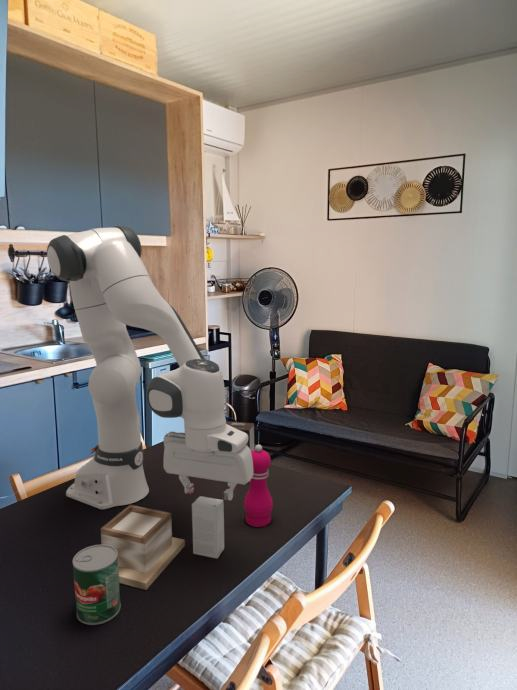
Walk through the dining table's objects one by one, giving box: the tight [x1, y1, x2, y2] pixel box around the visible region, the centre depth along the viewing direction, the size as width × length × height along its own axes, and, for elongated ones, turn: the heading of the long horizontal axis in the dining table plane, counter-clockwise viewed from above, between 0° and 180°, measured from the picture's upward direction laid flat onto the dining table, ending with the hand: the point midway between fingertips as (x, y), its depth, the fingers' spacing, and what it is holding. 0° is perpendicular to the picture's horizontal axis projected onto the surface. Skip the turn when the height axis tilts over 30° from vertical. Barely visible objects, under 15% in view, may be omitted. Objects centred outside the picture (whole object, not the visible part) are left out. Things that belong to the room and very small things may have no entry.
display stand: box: [100, 504, 186, 591], centre depth 107 cm, size 14×16×9 cm
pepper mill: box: [243, 444, 274, 528], centre depth 122 cm, size 7×7×20 cm
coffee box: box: [226, 420, 255, 483], centre depth 146 cm, size 9×6×16 cm
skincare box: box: [191, 495, 225, 559], centre depth 110 cm, size 6×4×12 cm
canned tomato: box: [72, 544, 122, 626], centre depth 92 cm, size 8×8×11 cm
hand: (208, 495), depth 108 cm, fingers open, 8 cm apart
